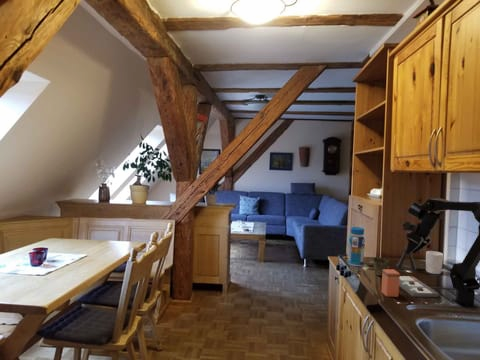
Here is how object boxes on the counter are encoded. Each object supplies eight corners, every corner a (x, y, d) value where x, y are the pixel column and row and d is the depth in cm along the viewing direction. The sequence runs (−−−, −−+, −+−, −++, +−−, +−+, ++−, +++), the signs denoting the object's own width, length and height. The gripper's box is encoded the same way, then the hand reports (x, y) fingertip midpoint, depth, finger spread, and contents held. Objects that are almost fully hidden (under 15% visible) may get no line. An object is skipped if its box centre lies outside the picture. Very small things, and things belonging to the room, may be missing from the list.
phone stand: (396, 268, 177) (398, 246, 176) (397, 265, 182) (398, 244, 181) (416, 271, 173) (417, 249, 172) (416, 268, 178) (417, 246, 177)
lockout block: (398, 296, 141) (399, 273, 140) (386, 296, 141) (387, 273, 140) (392, 291, 146) (394, 269, 145) (381, 291, 146) (382, 269, 145)
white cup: (426, 268, 179) (427, 250, 178) (443, 271, 174) (444, 253, 174) (423, 271, 173) (424, 253, 172) (440, 275, 168) (442, 256, 167)
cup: (385, 273, 169) (386, 257, 169) (390, 278, 162) (391, 262, 162) (370, 272, 170) (371, 256, 170) (374, 277, 163) (375, 261, 162)
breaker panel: (438, 297, 141) (438, 291, 141) (412, 296, 141) (413, 290, 141) (413, 279, 161) (413, 274, 161) (390, 279, 161) (391, 274, 161)
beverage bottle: (344, 262, 185) (346, 226, 184) (357, 261, 188) (359, 226, 186) (353, 267, 177) (355, 230, 176) (367, 266, 180) (369, 229, 178)
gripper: (416, 216, 163) (400, 244, 166) (404, 214, 150) (387, 244, 153) (439, 228, 156) (422, 256, 159) (428, 226, 142) (410, 258, 145)
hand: (410, 253), depth 154 cm, fingers open, 9 cm apart
